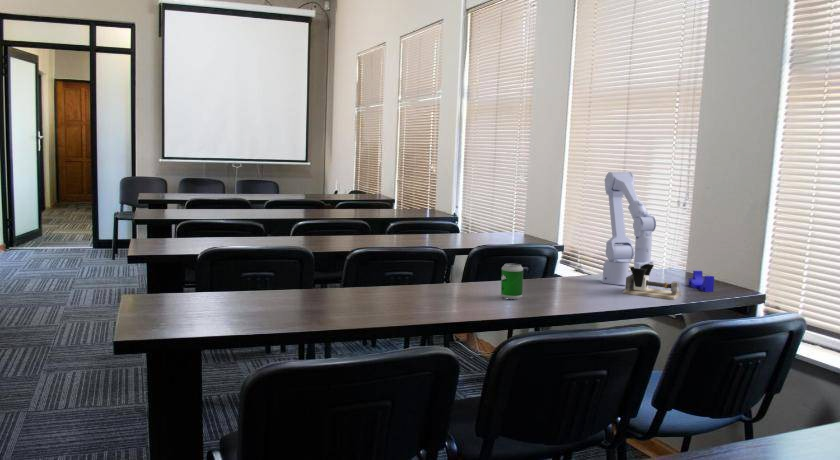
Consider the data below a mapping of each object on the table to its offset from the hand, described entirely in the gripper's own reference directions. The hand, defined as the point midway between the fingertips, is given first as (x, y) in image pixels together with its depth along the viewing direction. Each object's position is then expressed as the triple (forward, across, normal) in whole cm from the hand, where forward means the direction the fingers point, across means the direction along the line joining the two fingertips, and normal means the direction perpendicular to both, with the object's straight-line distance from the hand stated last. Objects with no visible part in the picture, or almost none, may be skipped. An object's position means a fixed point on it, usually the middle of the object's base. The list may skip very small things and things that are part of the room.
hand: (641, 284), depth 243 cm
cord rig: (+3, 0, -4) cm, 5 cm away
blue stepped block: (+3, +21, -17) cm, 27 cm away
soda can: (+3, -37, +35) cm, 51 cm away
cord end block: (+2, 0, 0) cm, 2 cm away
